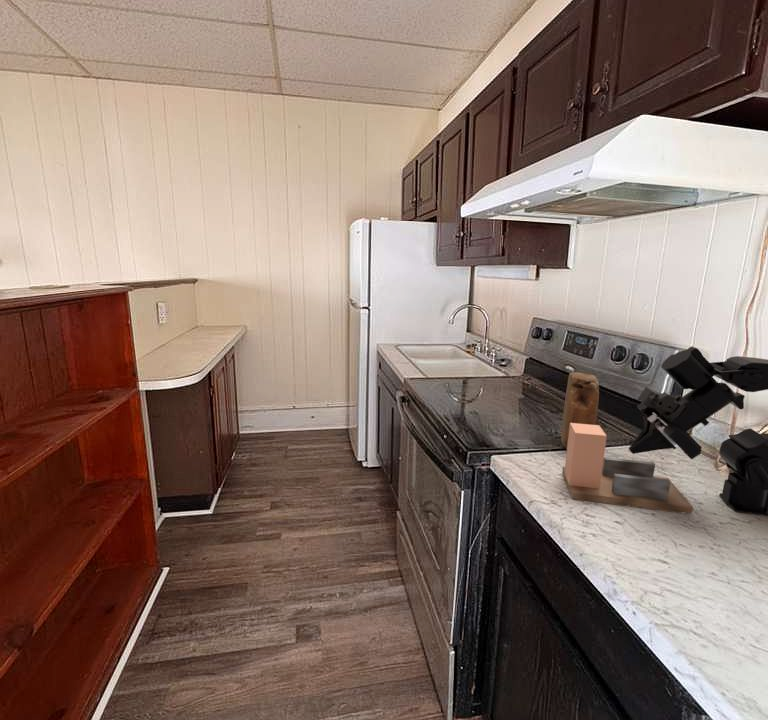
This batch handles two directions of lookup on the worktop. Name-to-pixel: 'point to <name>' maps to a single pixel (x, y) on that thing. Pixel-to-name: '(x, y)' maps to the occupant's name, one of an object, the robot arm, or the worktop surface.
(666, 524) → the worktop surface
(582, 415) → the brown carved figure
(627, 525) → the worktop surface
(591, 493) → the chute
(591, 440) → the block
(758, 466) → the robot arm
